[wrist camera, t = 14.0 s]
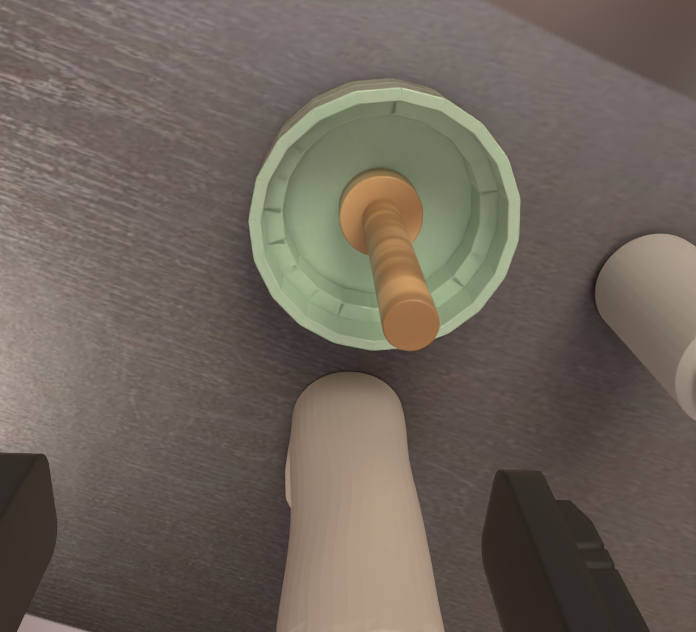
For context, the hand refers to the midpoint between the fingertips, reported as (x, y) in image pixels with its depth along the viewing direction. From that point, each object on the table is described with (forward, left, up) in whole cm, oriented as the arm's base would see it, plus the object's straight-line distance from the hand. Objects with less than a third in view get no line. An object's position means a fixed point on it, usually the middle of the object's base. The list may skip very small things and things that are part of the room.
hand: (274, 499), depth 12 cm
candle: (+16, -11, -27) cm, 33 cm away
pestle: (+4, +2, -26) cm, 26 cm away
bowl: (+4, +2, -27) cm, 27 cm away
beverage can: (+18, +11, -27) cm, 34 cm away
